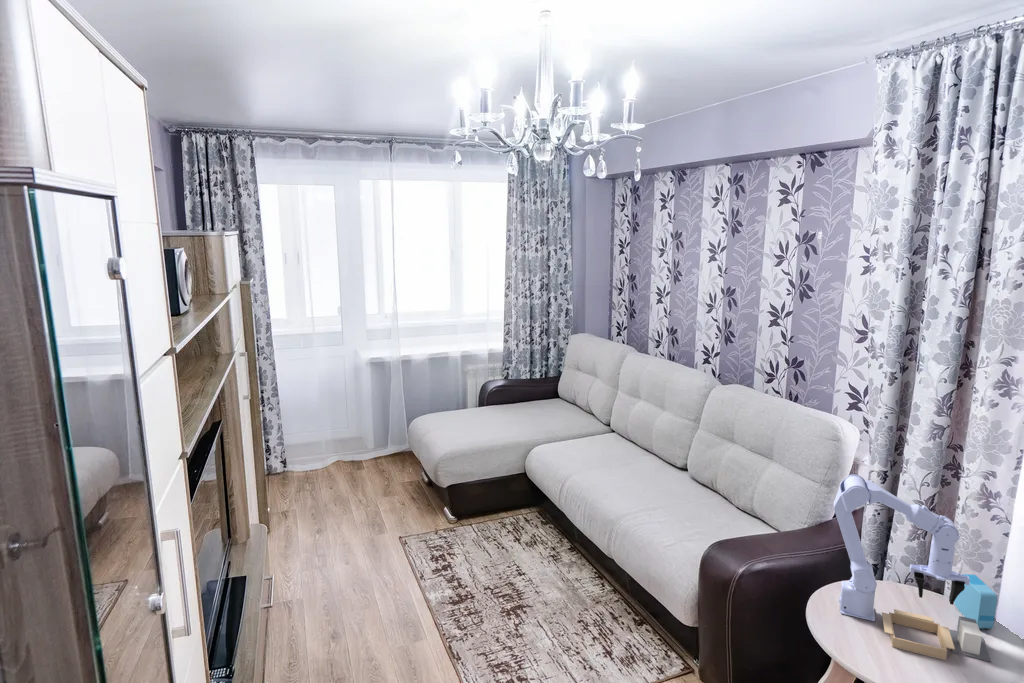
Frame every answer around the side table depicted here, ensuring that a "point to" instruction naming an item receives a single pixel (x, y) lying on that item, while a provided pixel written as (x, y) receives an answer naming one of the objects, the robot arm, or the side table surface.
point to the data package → (977, 602)
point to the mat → (982, 655)
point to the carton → (918, 623)
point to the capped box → (969, 635)
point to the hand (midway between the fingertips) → (935, 599)
